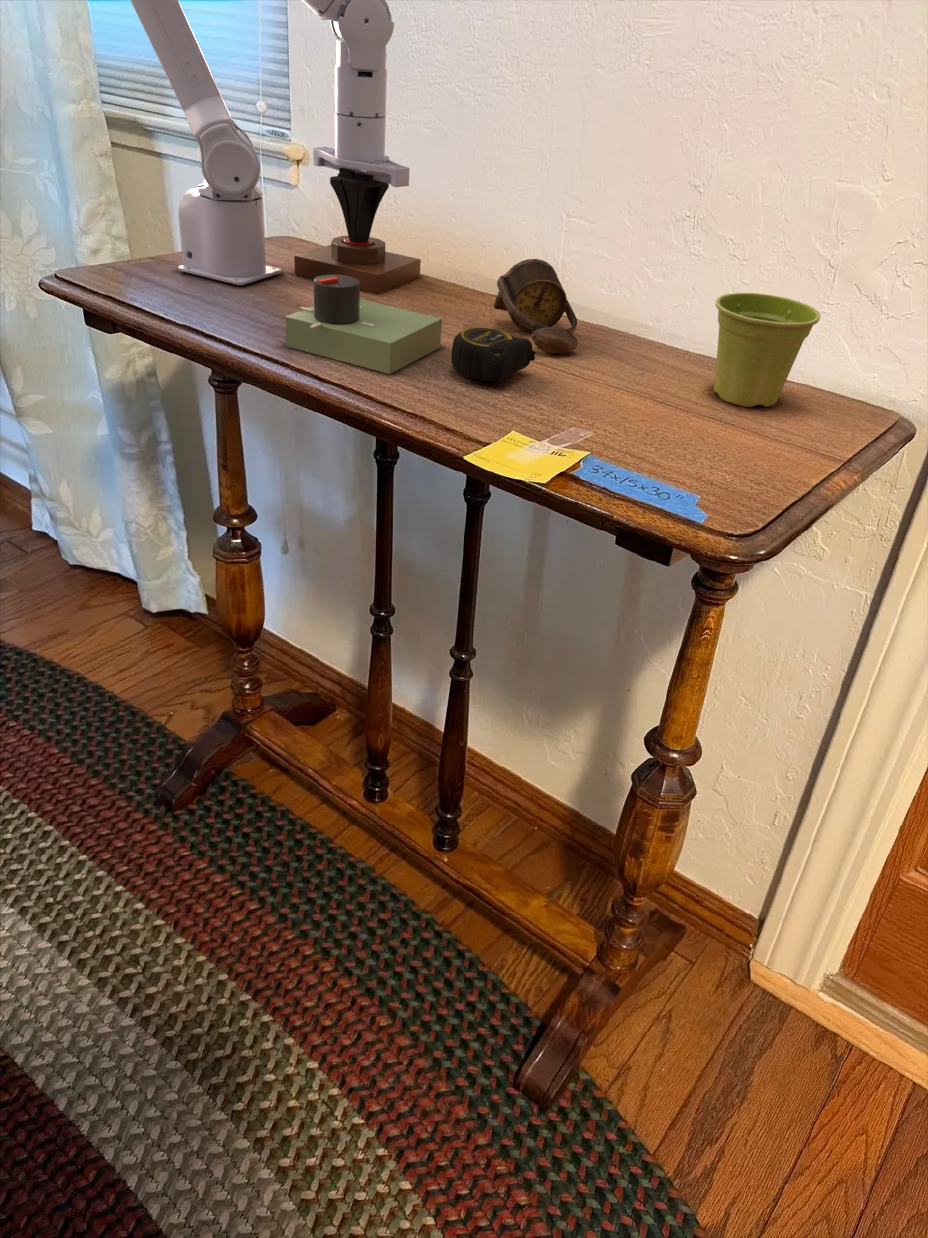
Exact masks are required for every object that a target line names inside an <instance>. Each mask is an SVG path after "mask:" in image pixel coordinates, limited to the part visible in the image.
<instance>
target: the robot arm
mask: <svg viewBox="0 0 928 1238" xmlns="http://www.w3.org/2000/svg"><path fill="white" fill-rule="evenodd" d="M130 2H131V5H132V6H133V9H134V10H135V13H136V15H137V18H138V19H139V21H140V23H141V25H142V29H143V30H144V32H145V34H146V36H147V39H148V40H149V43H150V44H151V46H152V48H153V50H154V53H155V55H156V57H157V59H158V61H159V63H160V65H161V67H162V70H163V72H164V74H165V76H166V77H167V80H168V82H169V84H170V86H171V88H172V90H173V92H174V95H175V97H176V98H177V101H178V103H179V105H180V107H181V109H182V111H183V113H184V116H185V118H186V120H187V123H188V125H189V128H190V131H191V133H192V135H193V137H194V139H195V141H196V143H197V146H198V157H199V160H200V168H201V172H202V173H201V174H202V176H203V180H202V182H201V184H198V185H197V187H193V188H191V189H189V190H187V191H186V192H185V193H184V194H183V195H182V198H181V199H180V203H179V206H178V225H179V228H178V229H179V239H180V250H181V259H182V265H179V266H178V268H177V269H178V271H180V272H183V273H186V274H189V275H190V274H191V275H194V276H199V277H203V278H208V279H211V280H214V281H219V282H224V283H228V284H231V285H236V286H245V285H248V284H251V283H254V282H257V281H261V280H264V279H267V278H270V277H273V276H276V275H279V274H281V273H282V269H281V268H280V267H274V266H270V265H267V264H266V244H265V219H264V218H265V217H264V196H263V195H264V194H263V192H264V191H263V189H261V188H260V187H258V186H257V184H258V183H259V180H260V175H261V162H260V158H259V156H258V154H257V151H256V150H255V147H254V144H253V142H252V140H251V138H250V137H249V135H248V134H247V133H246V132H245V131H244V130H243V129H242V128H241V127H239V125H238V124H236V122H235V121H234V119H233V118H232V116H231V114H230V111H229V110H228V107H227V105H226V103H225V101H224V99H223V97H222V94H221V91H220V90H219V88H218V87H219V86H218V85H217V83H216V81H215V79H214V76H213V74H212V71H211V70H210V68H209V65H208V63H207V61H206V59H205V57H204V54H203V52H202V49H201V47H200V45H199V43H198V40H197V38H196V37H195V34H194V32H193V30H192V27H191V25H190V23H189V21H188V18H187V16H186V14H185V12H184V10H183V7H182V5H181V3H180V0H130ZM301 2H303V3H304V4H305V5H306V6H307V7H308V8H309V9H310V10H311V11H312V12H313V13H314V14H315V15H316V16H317V17H318V18H319V19H320V20H322V21H329V23H330V28H331V30H332V33H333V35H334V36H335V38H336V63H335V67H334V148H333V147H328V146H319V147H313V148H312V154H313V155H312V165H313V166H315V167H324V168H329V169H332V170H335V171H338V173H337V175H334V176H330V177H329V184H330V185H331V188H332V189H333V192H334V193H335V195H336V197H337V200H338V203H339V205H340V208H341V211H342V215H343V219H344V224H345V227H346V232H347V236H348V237H349V240H350V241H353V242H356V243H358V242H364V241H368V240H369V237H371V236H370V235H371V232H372V229H373V228H372V227H373V224H374V220H375V217H376V214H377V211H378V209H379V206H380V203H381V202H382V201H383V198H384V196H385V194H386V193H387V191H388V190H389V188H390V186H391V187H394V188H404V187H409V186H410V167H408V166H406V165H402V164H399V163H397V162H394V161H392V160H390V156H388V155H385V154H386V152H385V151H386V117H387V116H386V115H387V84H388V83H387V81H388V80H387V79H388V78H387V77H388V76H387V75H388V71H387V68H386V67H387V66H386V65H387V45H388V44H389V42H390V41H391V38H392V36H393V32H394V29H395V22H394V21H392V20H393V19H392V13H391V11H390V6H389V5H388V3H387V1H386V0H301Z"/></svg>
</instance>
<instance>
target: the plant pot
mask: <svg viewBox="0 0 928 1238" xmlns="http://www.w3.org/2000/svg"><path fill="white" fill-rule="evenodd" d="M715 299H716V300H715V307H716V309H717V310H718V312H717V313H718V314H717V323H718V337H717V338H718V339H717V351H716V361H715V372H714V384H713V392H714V393H716V394H717V395H718V397H719V398H720V399H721V400H723V401H724V402H727V403H729V404H734V405H737V406H740V407H745V408H751V407H755V406H763V407H766V408H767V407H771V406H773V405H775V404H776V403H778V400H779V398H780V395H781V393H782V391H783V388H784V386H785V385H786V382H787V380H788V376H789V375H790V372H791V371H792V368H793V367H794V363H795V361H796V359H797V357H798V354H799V352H800V350H801V348H802V345H803V343H804V341H805V339H806V338H808V336H809V335H810V333H811V331H812V328H813V326H815V325H816V324H818V323H819V321H820V319H821V313H820V312H819V311H818V310H817V308H815V307H812V306H811V305H809V304H806V303H805V302H804V303H803V302H801V301H798V300H795V299H791V298H787V297H783V296H780V295H779V296H778V295H773V294H766V293H765V294H764V293H759V292H758V293H756V292H733V293H725V294H722V295H720V296H718V297H717V298H715Z"/></svg>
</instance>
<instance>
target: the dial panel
mask: <svg viewBox="0 0 928 1238" xmlns="http://www.w3.org/2000/svg"><path fill="white" fill-rule="evenodd" d="M284 319H285V345H286V348H290V349H294V350H297V351H302V352H304V353H305V352H306V353H309V354H312V355H317V356H320V357H324V358H328V359H332V360H335V361H339V362H342V363H346V364H350V365H353V366H358V367H361V368H365V369H369V370H373V371H377V372H380V373H384V374H387V375H391V374H394V372H397V371H399V370H401V369H402V368H405V367H406V366H408V365H410V364H412V363H413V362H416V361H418V360H420V359H421V358H423V357H425V356H427V355H429V354H431V353H433V352H435V351H436V350H438V349H440V348H441V344H442V343H441V341H442V326H443V318H442V317H438V316H433V315H429V314H425V313H421V312H416V311H412V310H408V309H404V308H399V307H395V306H392V305H387V304H383V303H380V302H379V303H378V302H375V301H371V300H366V299H362V298H360V314H359V320H358V321H356V322H353V323H348V324H332V323H326V322H322V321H319V320H317V319H316V318H315V316H314V305H312V306H309V307H304V306H301V307H299V311H296V312H293V313H291V314H289V315H286V316H285V317H284Z"/></svg>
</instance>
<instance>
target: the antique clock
mask: <svg viewBox="0 0 928 1238" xmlns="http://www.w3.org/2000/svg"><path fill="white" fill-rule="evenodd" d="M496 286H497V289H498V293H497V294H496V297H495V300H494V303H493V308H494V309H496V310H501V311H506V312H507V313H508V316H509V318H510V320H511V322H512V323H513V325H514V326H515V327H516V328H518V329H520V330H521V331H523V332H529V333H531V336H530V337H531V339H532V342H533V343H534V345H535V346H536V347H537V348H538V349H539V350H541V351H543V352H546V353H548V354H565V353H569V352H572V351H574V350H575V349H576V348H577V347H578V345H579V341H578V339H577V337H576V336H575V335H574V333H575V331H576V330H577V326H578V318H577V316H576V313H575V312H574V309H573V307H572V305H571V304H570V302H569V301H568V298H567V293H566V291H565V289H564V287H563V285H562V283H561V281H560V279H559V277H558V274H557V272H556V270H555V268H554V267H553V265H551V264H550V263H549V262H548V261H545V260H543V259H539V258H528V259H523V260H521V261H519V262H517V263H516V264H514V265H512V266H511V268H510V269H508V270H507V272H506V273H505V274H502V275H500V276H499V277H498V279H497V282H496ZM564 314H565V315H566V318H567V320H568V322H569V323H570V327H568V328H563V327H559V326H555V325H556V324H557V323H558V322H559V321H560V320H561V319H562V317H563V315H564Z"/></svg>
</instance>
